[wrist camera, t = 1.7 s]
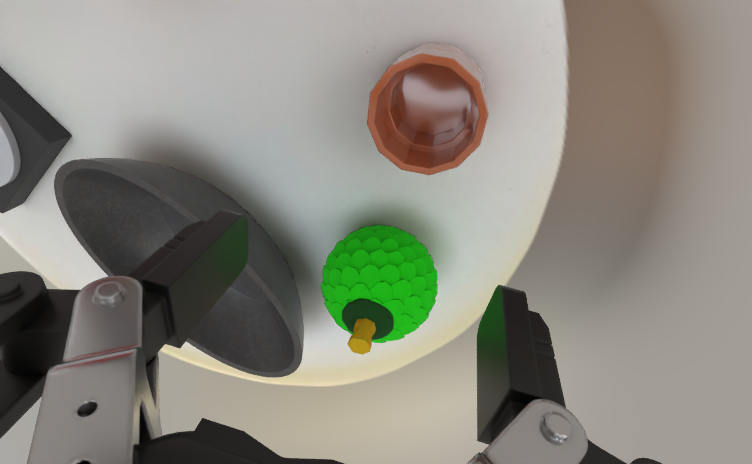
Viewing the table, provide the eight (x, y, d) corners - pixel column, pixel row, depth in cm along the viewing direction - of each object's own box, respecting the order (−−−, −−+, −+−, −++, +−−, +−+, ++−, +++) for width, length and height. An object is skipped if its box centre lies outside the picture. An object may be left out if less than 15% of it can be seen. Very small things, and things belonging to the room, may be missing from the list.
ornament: (415, 302, 33) (395, 407, 25) (328, 263, 33) (280, 356, 25) (460, 233, 28) (454, 333, 20) (361, 187, 28) (314, 269, 20)
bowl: (166, 91, 28) (95, 115, 22) (360, 298, 34) (340, 353, 29) (96, 178, 33) (28, 213, 28) (274, 340, 40) (245, 393, 35)
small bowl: (371, 66, 24) (349, 83, 20) (468, 24, 21) (466, 33, 17) (405, 154, 26) (393, 186, 22) (495, 125, 24) (499, 154, 20)
